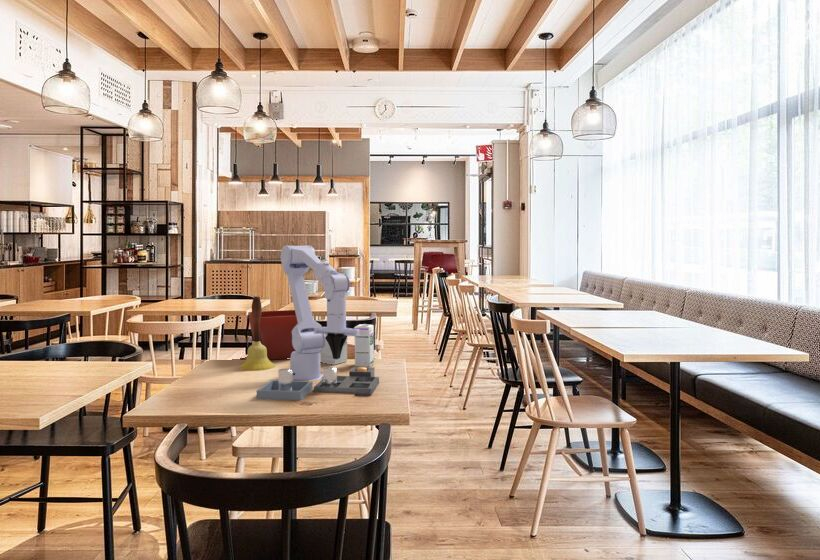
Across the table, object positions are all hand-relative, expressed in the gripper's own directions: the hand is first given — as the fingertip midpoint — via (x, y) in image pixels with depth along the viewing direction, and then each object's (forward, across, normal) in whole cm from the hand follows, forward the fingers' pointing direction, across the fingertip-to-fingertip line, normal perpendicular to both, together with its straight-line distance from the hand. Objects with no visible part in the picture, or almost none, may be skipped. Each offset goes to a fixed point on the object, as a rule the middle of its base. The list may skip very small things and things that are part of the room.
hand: (336, 358), depth 183 cm
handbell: (+9, +41, -17) cm, 45 cm away
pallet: (+9, -3, -2) cm, 10 cm away
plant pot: (+9, +45, -35) cm, 58 cm away
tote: (+9, +10, +13) cm, 19 cm away
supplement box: (+9, +20, -34) cm, 40 cm away
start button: (+9, -1, -15) cm, 17 cm away
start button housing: (+9, -1, -15) cm, 18 cm away
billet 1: (+9, +10, +13) cm, 18 cm away
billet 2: (+9, 0, +3) cm, 10 cm away
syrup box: (+9, +7, -34) cm, 36 cm away
